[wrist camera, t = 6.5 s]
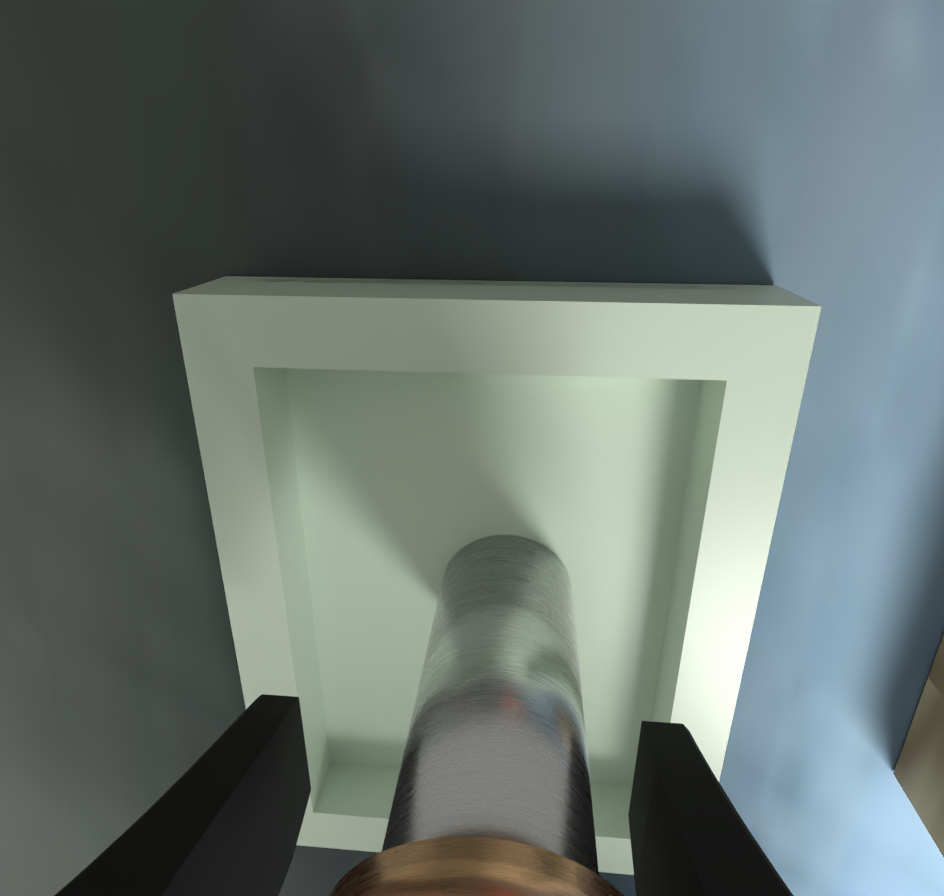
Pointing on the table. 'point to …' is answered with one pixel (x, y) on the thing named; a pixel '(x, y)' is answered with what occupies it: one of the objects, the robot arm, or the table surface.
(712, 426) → the tray
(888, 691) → the table surface
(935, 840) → the socket block
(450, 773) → the pin
